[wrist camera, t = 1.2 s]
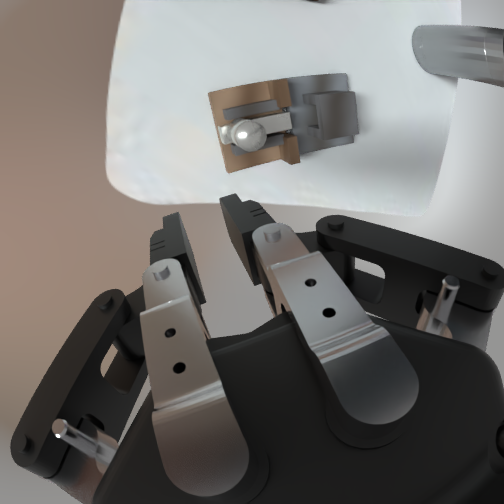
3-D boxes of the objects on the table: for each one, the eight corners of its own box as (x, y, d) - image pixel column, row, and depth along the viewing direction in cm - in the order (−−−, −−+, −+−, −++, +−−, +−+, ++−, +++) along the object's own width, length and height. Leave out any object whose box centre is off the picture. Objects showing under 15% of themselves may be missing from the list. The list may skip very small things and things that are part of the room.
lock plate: (341, 73, 31) (365, 73, 27) (349, 141, 37) (371, 149, 32) (207, 92, 28) (215, 91, 24) (226, 171, 34) (236, 183, 30)
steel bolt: (282, 107, 30) (305, 110, 26) (286, 130, 32) (309, 138, 27) (216, 121, 29) (228, 126, 24) (222, 146, 31) (234, 156, 26)
